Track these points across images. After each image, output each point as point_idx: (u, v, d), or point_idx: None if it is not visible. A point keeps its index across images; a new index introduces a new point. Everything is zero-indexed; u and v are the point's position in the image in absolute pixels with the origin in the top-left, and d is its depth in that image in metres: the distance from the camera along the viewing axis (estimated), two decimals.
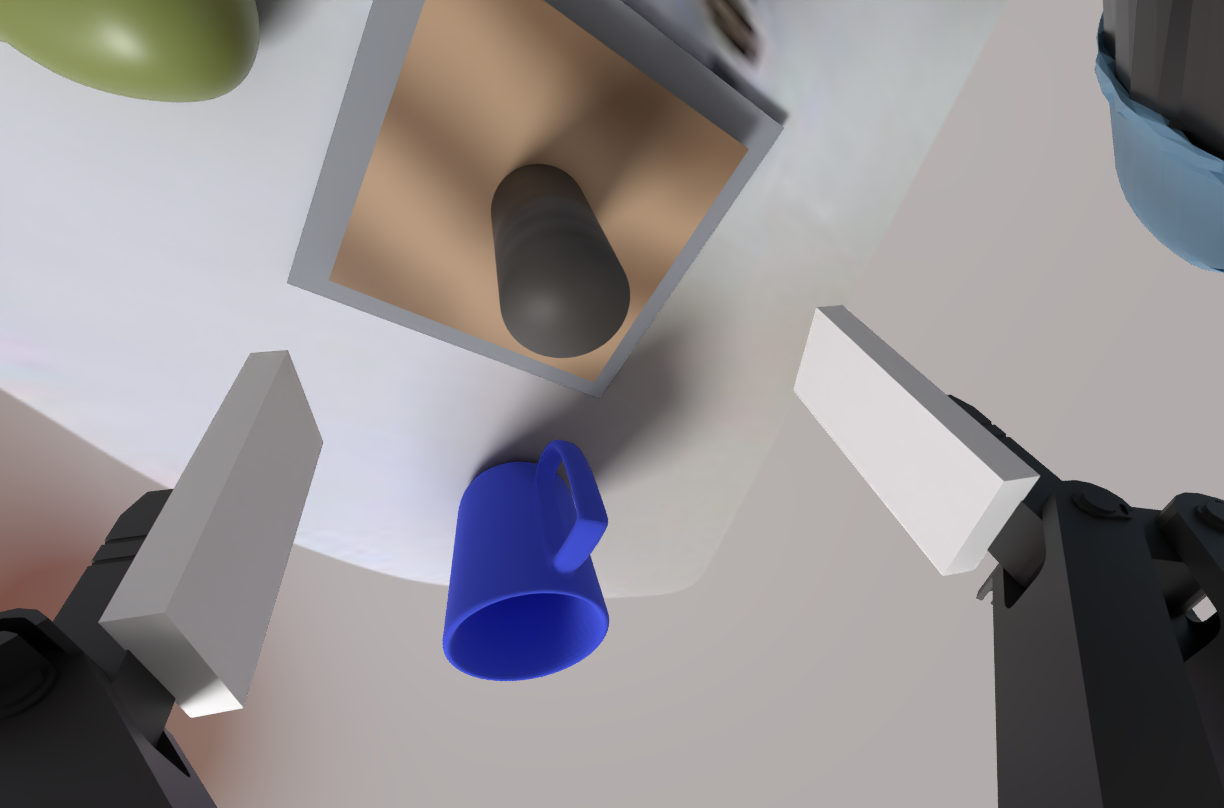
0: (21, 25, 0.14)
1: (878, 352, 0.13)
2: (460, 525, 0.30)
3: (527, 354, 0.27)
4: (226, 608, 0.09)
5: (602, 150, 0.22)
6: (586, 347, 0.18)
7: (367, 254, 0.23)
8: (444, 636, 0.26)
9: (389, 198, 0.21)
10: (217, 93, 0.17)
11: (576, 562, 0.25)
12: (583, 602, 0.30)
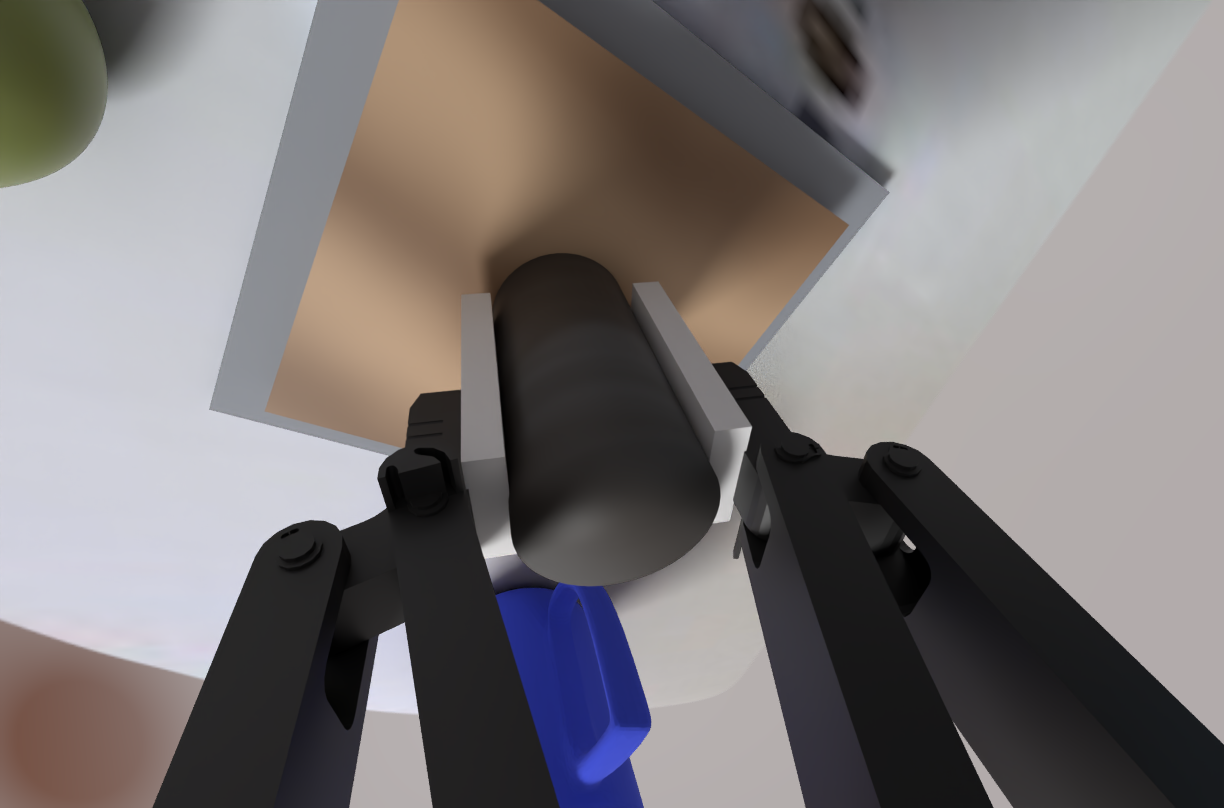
0: None
1: (667, 322, 0.14)
2: None
3: None
4: None
5: (650, 232, 0.15)
6: (645, 569, 0.11)
7: (318, 377, 0.16)
8: None
9: (346, 305, 0.15)
10: (30, 176, 0.11)
11: (608, 772, 0.19)
12: None
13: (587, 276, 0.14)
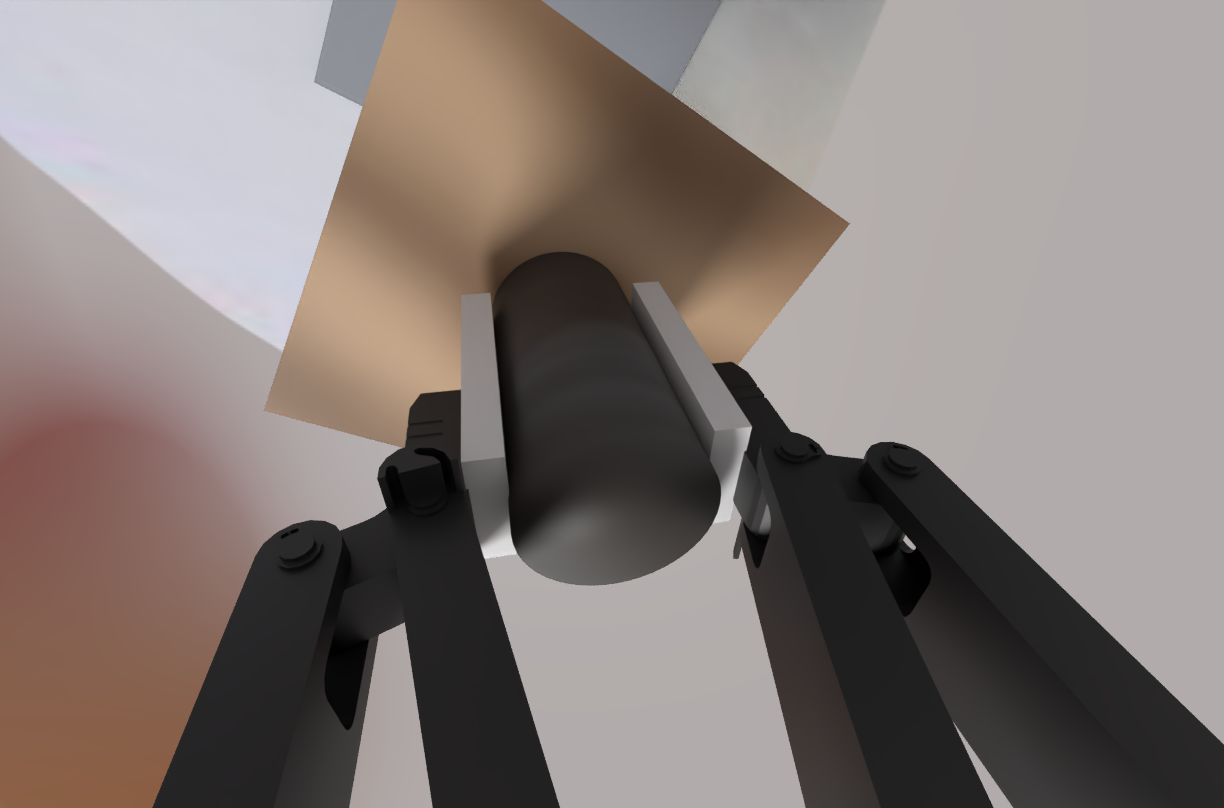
0: None
1: (667, 322, 0.14)
2: None
3: None
4: None
5: (650, 231, 0.15)
6: (645, 568, 0.11)
7: (317, 376, 0.16)
8: None
9: (345, 304, 0.15)
10: None
11: None
12: None
13: (587, 275, 0.14)
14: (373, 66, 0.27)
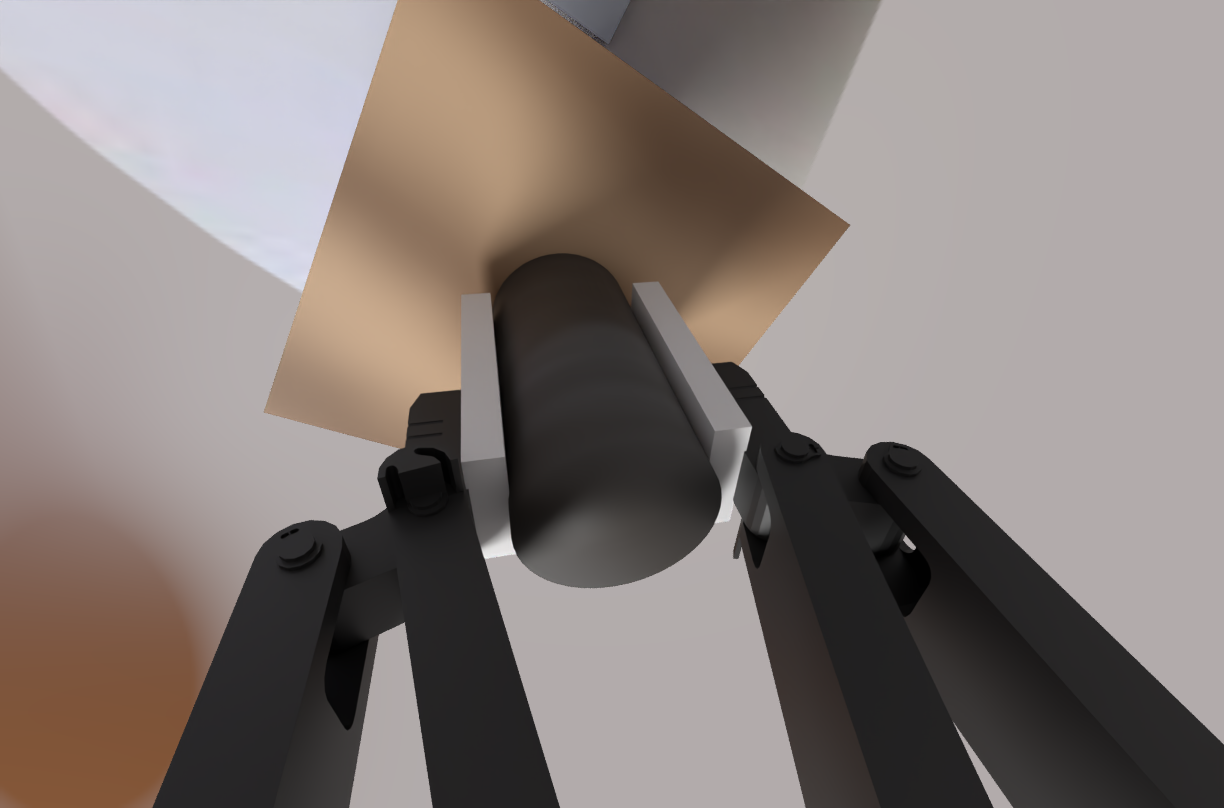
0: None
1: (667, 322, 0.14)
2: None
3: None
4: None
5: (650, 233, 0.15)
6: (645, 571, 0.11)
7: (317, 377, 0.16)
8: None
9: (345, 306, 0.15)
10: None
11: None
12: None
13: (587, 276, 0.14)
14: None
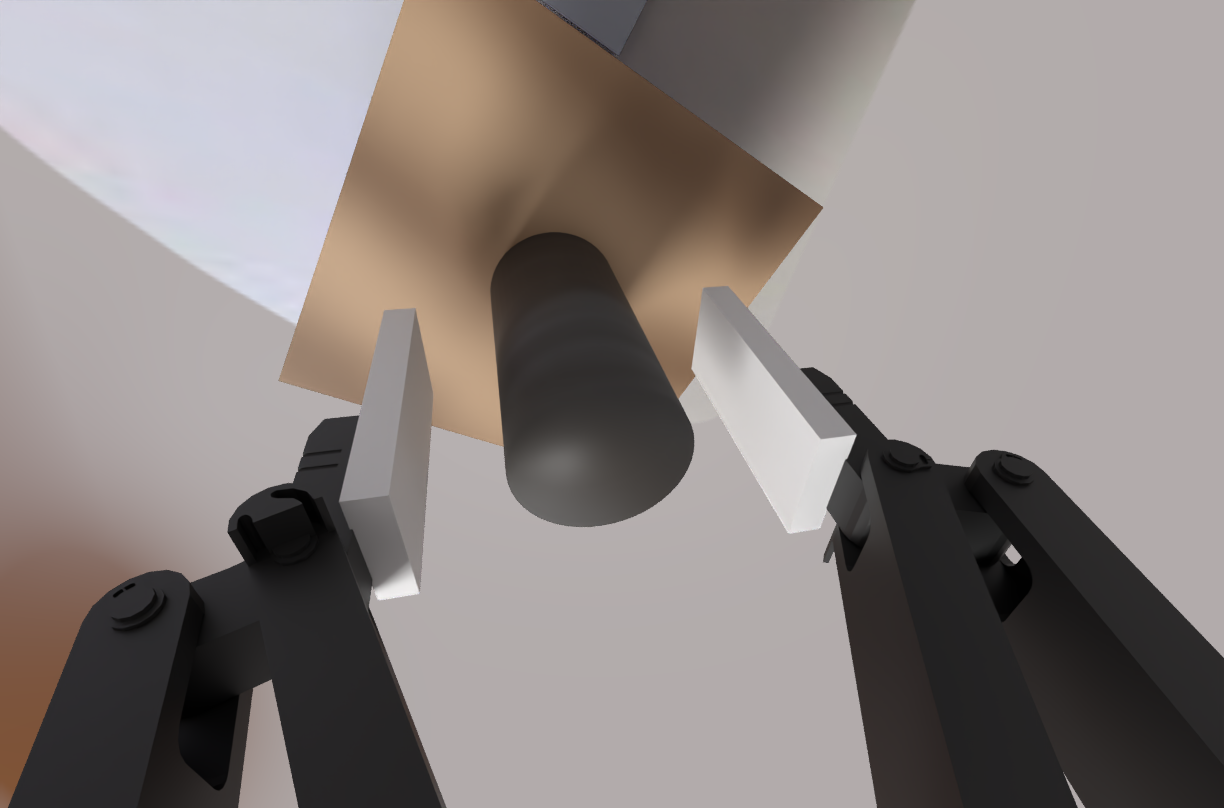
0: None
1: (746, 327, 0.14)
2: None
3: None
4: (408, 508, 0.10)
5: (636, 213, 0.17)
6: (628, 512, 0.13)
7: (328, 348, 0.17)
8: None
9: (355, 280, 0.16)
10: None
11: None
12: None
13: (577, 252, 0.16)
14: None
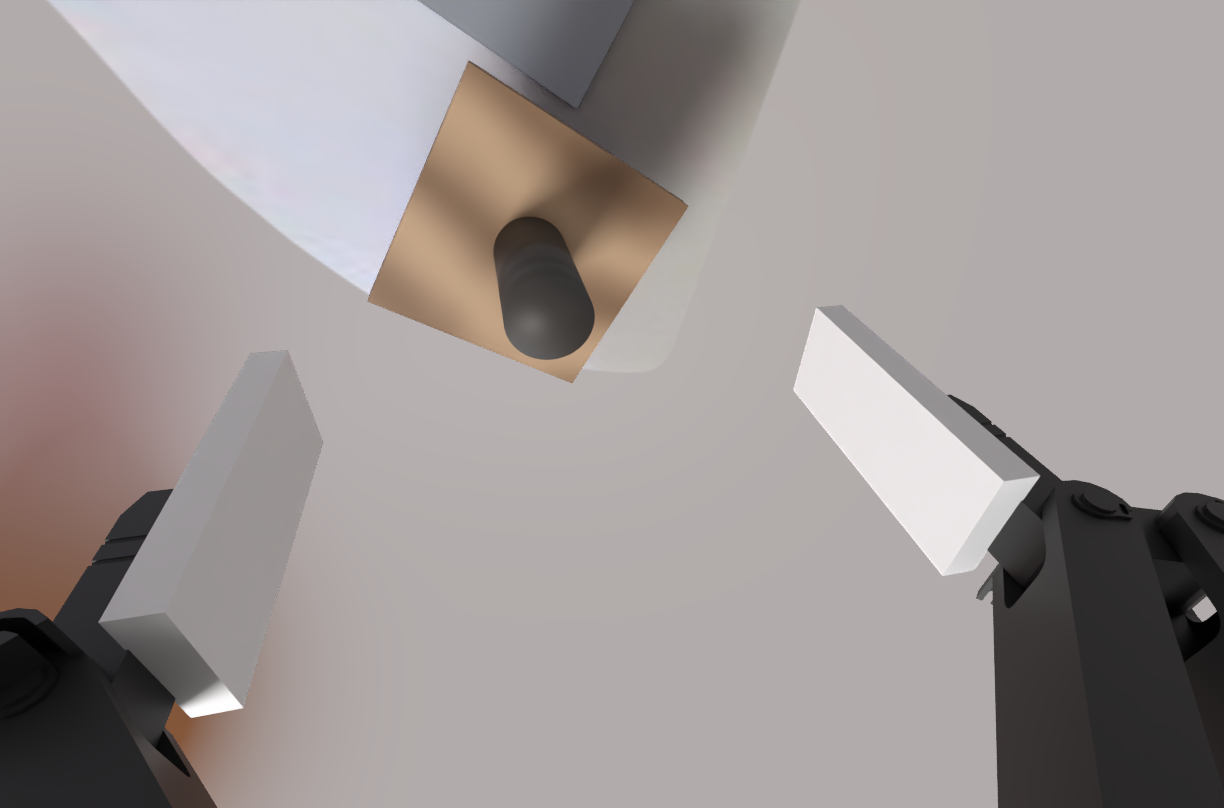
0: None
1: (878, 352, 0.13)
2: None
3: (519, 360, 0.34)
4: (226, 608, 0.09)
5: (577, 207, 0.29)
6: (564, 352, 0.25)
7: (398, 282, 0.30)
8: None
9: (417, 241, 0.29)
10: None
11: None
12: None
13: (543, 226, 0.28)
14: None
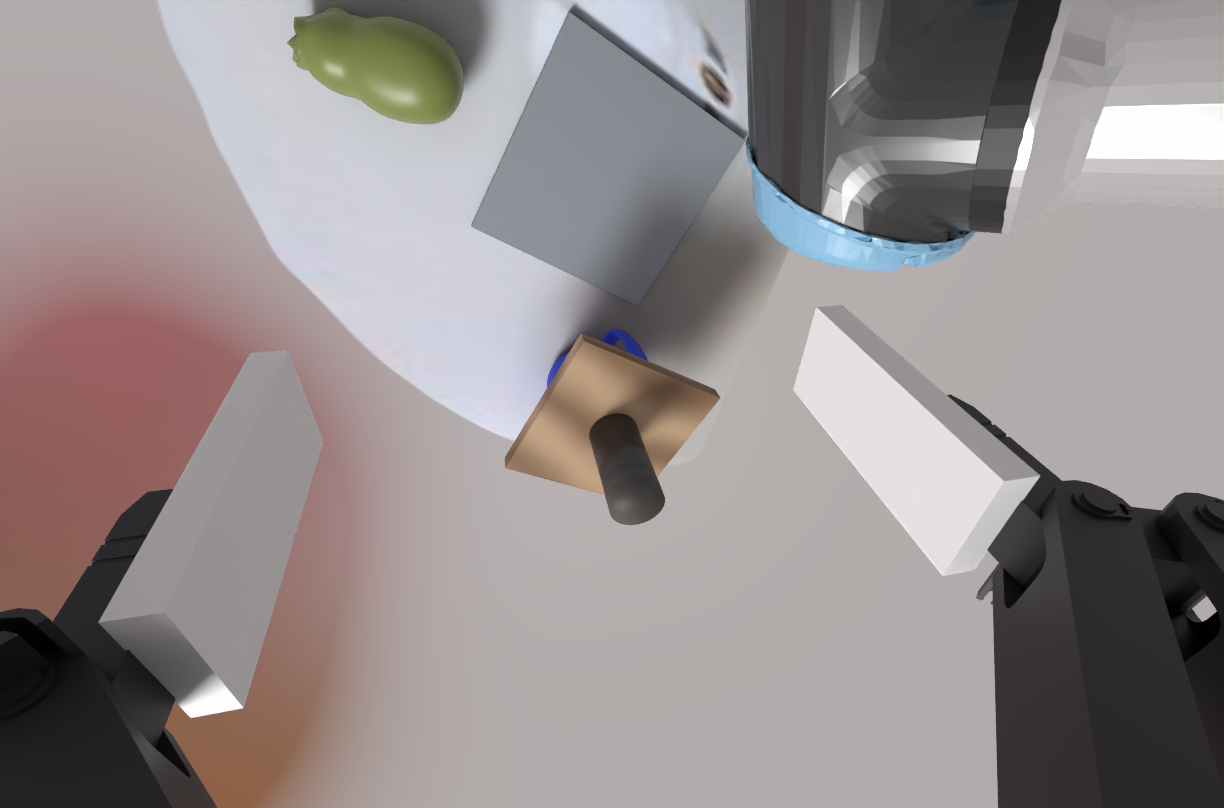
0: (377, 92, 0.33)
1: (878, 352, 0.13)
2: None
3: (600, 492, 0.49)
4: (226, 608, 0.09)
5: (646, 405, 0.44)
6: (644, 520, 0.40)
7: (526, 455, 0.44)
8: None
9: (541, 433, 0.43)
10: (444, 119, 0.36)
11: None
12: None
13: (625, 424, 0.43)
14: (508, 217, 0.43)
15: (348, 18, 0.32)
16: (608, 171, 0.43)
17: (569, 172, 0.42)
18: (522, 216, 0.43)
